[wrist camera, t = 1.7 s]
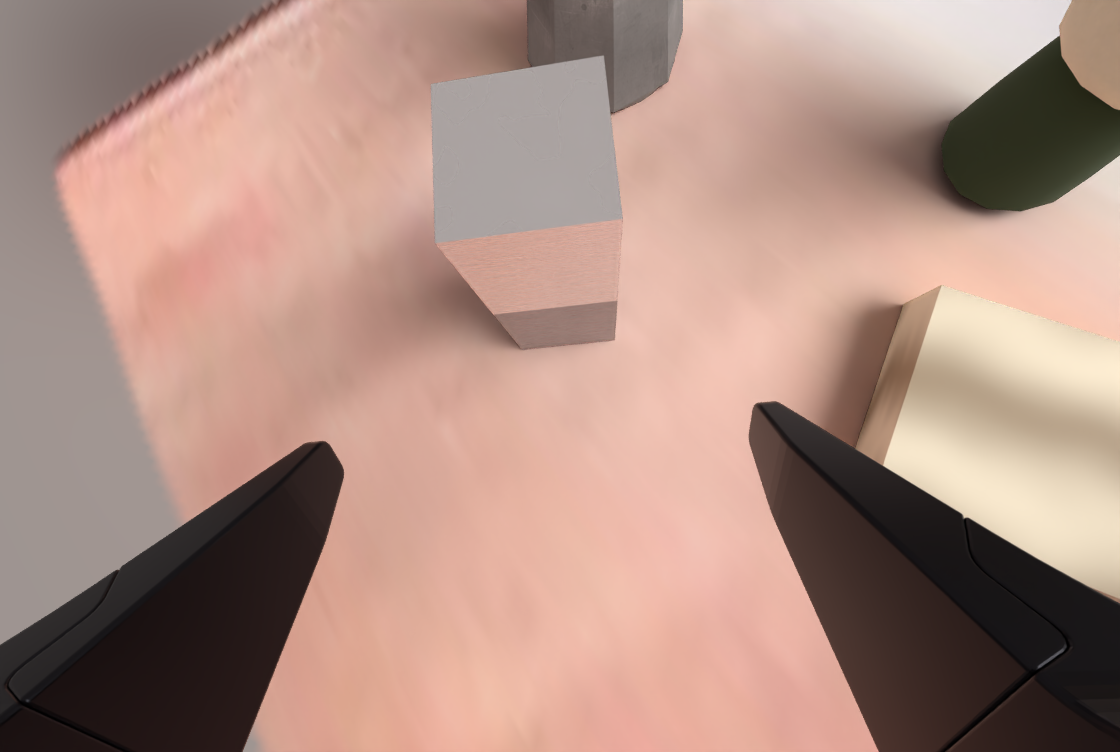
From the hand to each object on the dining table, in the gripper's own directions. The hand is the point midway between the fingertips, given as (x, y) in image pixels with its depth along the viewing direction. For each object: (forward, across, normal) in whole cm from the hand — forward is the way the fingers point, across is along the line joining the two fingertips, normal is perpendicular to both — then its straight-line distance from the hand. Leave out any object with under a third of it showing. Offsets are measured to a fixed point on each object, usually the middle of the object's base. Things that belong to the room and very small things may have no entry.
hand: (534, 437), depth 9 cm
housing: (+15, 0, +4) cm, 15 cm away
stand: (+9, -19, +10) cm, 23 cm away
